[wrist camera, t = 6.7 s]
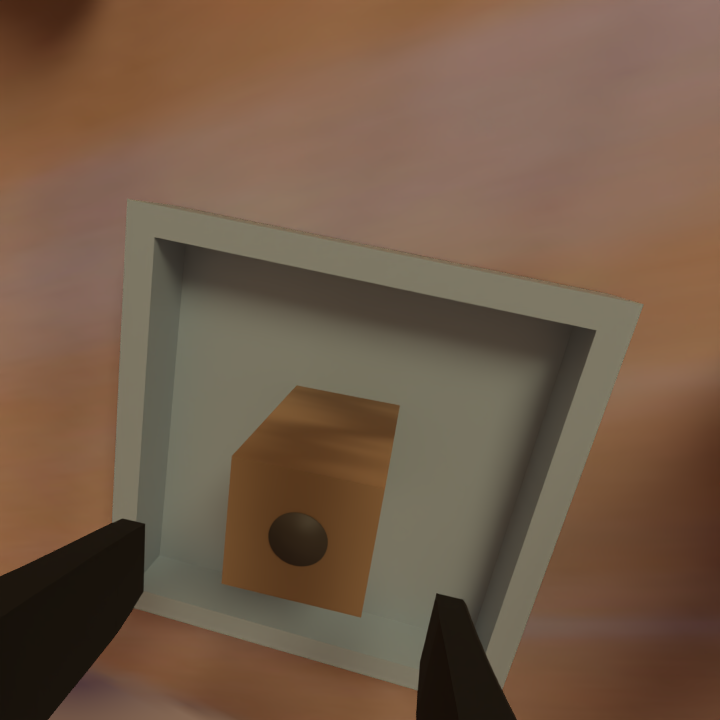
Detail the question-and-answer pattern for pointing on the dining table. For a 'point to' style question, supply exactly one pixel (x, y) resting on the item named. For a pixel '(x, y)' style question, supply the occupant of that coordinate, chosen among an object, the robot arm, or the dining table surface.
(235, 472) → the walnut block
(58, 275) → the dining table surface
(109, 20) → the dining table surface
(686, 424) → the dining table surface
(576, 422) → the tray
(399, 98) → the dining table surface
